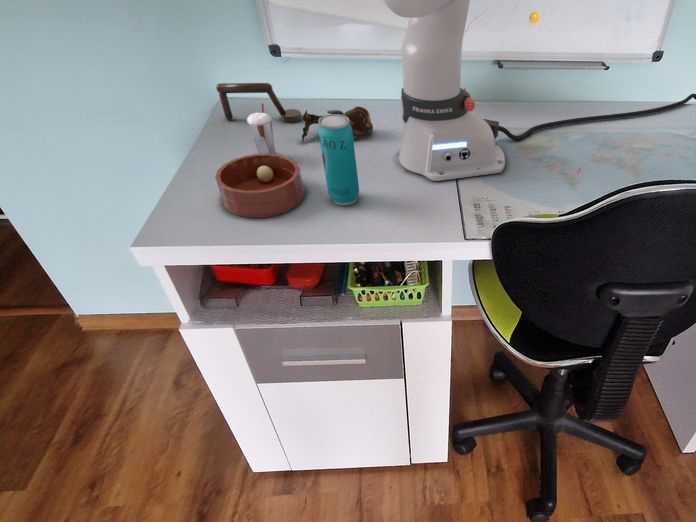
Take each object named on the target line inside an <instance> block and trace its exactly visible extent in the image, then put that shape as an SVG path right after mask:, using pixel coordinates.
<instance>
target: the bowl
mask: <svg viewBox="0 0 696 522" xmlns="http://www.w3.org/2000/svg"><path fill="white" fill-rule="evenodd" d="M261 166H268V167H269V168H271V170H272V171H273V178H272V180H271V181H269V182H263V181H261V180H260V179H259V178H258V177H257V170H258V168H259V167H261ZM302 177H303V176H302V173H301V167H300V166H299V164H298V162H297V161H295V160H294V159H292V157H288V156H285V155H282V154H277V153H276V154H259V153H254V154H246V155H243V156H240V157H236V158H233V159H231V160H229V161H227V162H225V163H223V165H222V166H221V167H219V168H218V169H217V171H216V173H215V176H214V178H215V181H216V184H217V187H218V190H219V193H220V197H221V200H222V203H223V205H224V207H225V209H227V210H228V211H229V212H230V213H232V214H234V215H236V216H240V217H243V218H252V219H260V218H261V219H262V218H269V217H275V216H278V215H282V214H285V213H287V212H289V211H291V210H293V209H294V208H296V207H298V206H299V205H300V204H301V203H302V201H303V199H304V197H305V188H304V184H303V183H304V182H303V178H302Z"/></svg>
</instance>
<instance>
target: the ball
mask: <svg viewBox="0 0 696 522" xmlns="http://www.w3.org/2000/svg"><path fill="white" fill-rule="evenodd" d="M257 177H258V178H259V179H260V180H261V181H263V182H269V181H271V180H272V178H273V171H272V170H271V168H269V167H268V166H261V167H259V168H258V170H257Z"/></svg>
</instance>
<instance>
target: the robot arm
mask: <svg viewBox="0 0 696 522" xmlns="http://www.w3.org/2000/svg"><path fill="white" fill-rule="evenodd" d="M382 1H383V3H384V4H385V6H386V7H387V8H388V10H390V11H391V12H392V13H393V14H395V15H397V16H399V17H402V18H406V19H408V21H407V26H406V31H405V33H404V36H403V39H402V43H401V64H402V67H401V68H402V88H401V93H400V107H401V110H400V111H401V118H402V120H403V127H402V129H403V130H402V138H401V145H400V149H399V150H400V151H399V153H398V163H399V164H400V165H401V166H402V167H403V168H404V169H406V170H408V171H410V172H412V173H415V174H419V175H422V176H424V177H425V178H427V179H429V180H430V181H433V182H439V181H440V182H441V181H446V180H455V179H463V178H470V177H477V176H485V175H492V174H493V175H494V174H500V173H502V172H503V171H504V170H505V167H506V156H505V153H504V151H503V149H502V148H501V147H500V145H499V144H497V142H496V139H497V137H498V136H499V132H502V133H503V134H504V135H506V136H507V137H508V138H509V139H511V140H512V141H522V140H524V139H526V138H527V137H528V136H530V135H531V134H532V133H533V132H536V131H539V130H542V129H547V128H551V127H556V126H562V125H567V124H568V125H569V124H576V123H582V122H583V123H585V122H591V121H600V120H602V121H603V120H610V119H611V120H612V119H619V118H628V117H629V118H630V117H636V116H643V115H644V116H645V115H649V114H654V113H659V112H663V111H666V110H671V109H674V108H677V107H680V106H682V105H684V104H685V105H686V104H687V103H688V102H689V101H690V100H692V99H694V100H696V93H695V94H694V93H691V94H689V95H688V96H686V98H684V99H682V100H679V101H677V102H674V103H670V104H666V105H662V106H658V107H655V108H654V107H653V108H649V109H644V110H637V111H629V112H622V113H612V114H611V113H610V114H602V115H594V116H592V115H591V116H585V117H584V116H583V117H575V118H568V119H561V120H555V121H550V122H545V123H541V124H538V125H534V126H532V127H530V128H529V129H527V130H526V131H525V132H524V133H522V134H519V135H514V134H513V133H512V132H510V130H508V128H506V127H504V126H502V125H500V121H498V120H491V119H486V118H482V117H481V115H480V116H479V115H478V114H477V113H476V112H474V110H475V109H476V103H475V100H474V99H473V98H472V97H471V94H470V93H469V92H468V91H467V89H466V87H463V88H462V87H461V82H462V81H461V79H462V77H461V76H462V53H463V50H462V49H463V43H464V42H463V41H464V35H465V31H466V30H465V29H466V24H467V19H468V14H469V9H470V3H471V0H382Z"/></svg>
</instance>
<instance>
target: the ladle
mask: <svg viewBox="0 0 696 522" xmlns="http://www.w3.org/2000/svg"><path fill="white" fill-rule="evenodd" d="M215 89H216V91H217V93H218V96H219V99H220V103H221V107H222V111H223V115H224V117H225V119H226V120H227V121H232V120H233V119H234V116H233V113H232V109H231V104H230V101H229V98H228V94H267V96H268V97H269V99H270V100H271V102H272V104H273V105H274V107H275V108H276V111H277V112H278V114H279V116H280V117H281V119H282V121H283V122H285V123H289V124H293V123H298V122H300V121H302V120H303V115H302V113H301V111H300V110H299V109H296V108H290V109H285V108H284V107H283V105H282V103H281V102H280V99H279V98H278V97H277V95H276V93H275V92H274V90H273V85H272V84H271V83H269V82H224V83H222V82H219V83H217V84H216V86H215Z"/></svg>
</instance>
